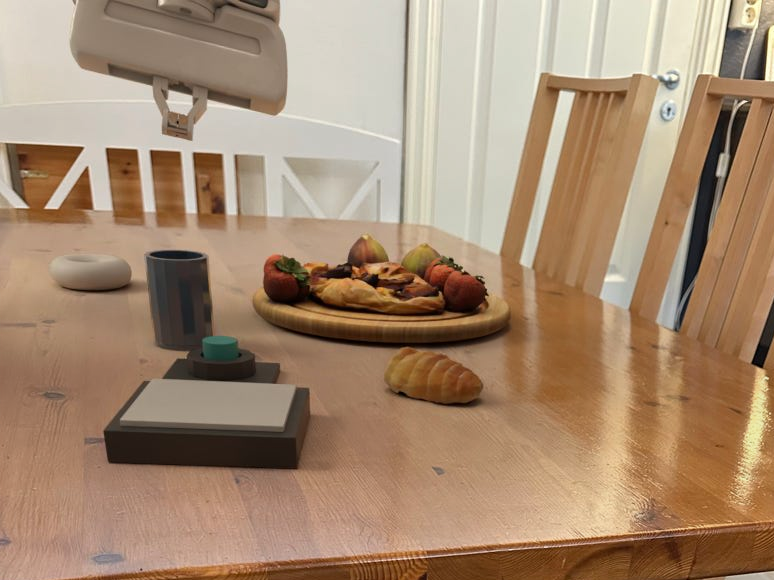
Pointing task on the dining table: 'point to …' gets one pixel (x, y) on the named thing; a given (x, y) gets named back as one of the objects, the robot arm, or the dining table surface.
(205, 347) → the tare button
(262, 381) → the pad
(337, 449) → the dining table surface
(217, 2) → the robot arm
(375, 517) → the dining table surface
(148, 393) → the scale
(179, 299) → the cup
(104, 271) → the donut
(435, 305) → the wooden plate
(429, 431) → the dining table surface
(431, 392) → the pastry
